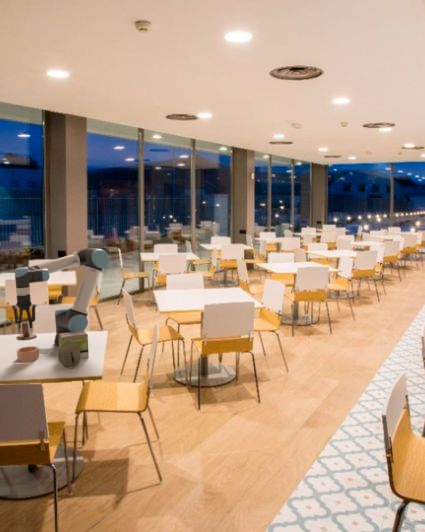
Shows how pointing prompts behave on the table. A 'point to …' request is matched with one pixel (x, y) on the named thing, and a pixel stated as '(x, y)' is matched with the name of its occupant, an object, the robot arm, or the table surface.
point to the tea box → (76, 341)
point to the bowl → (28, 353)
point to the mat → (44, 351)
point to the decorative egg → (69, 354)
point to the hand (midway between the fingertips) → (26, 333)
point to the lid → (26, 333)
